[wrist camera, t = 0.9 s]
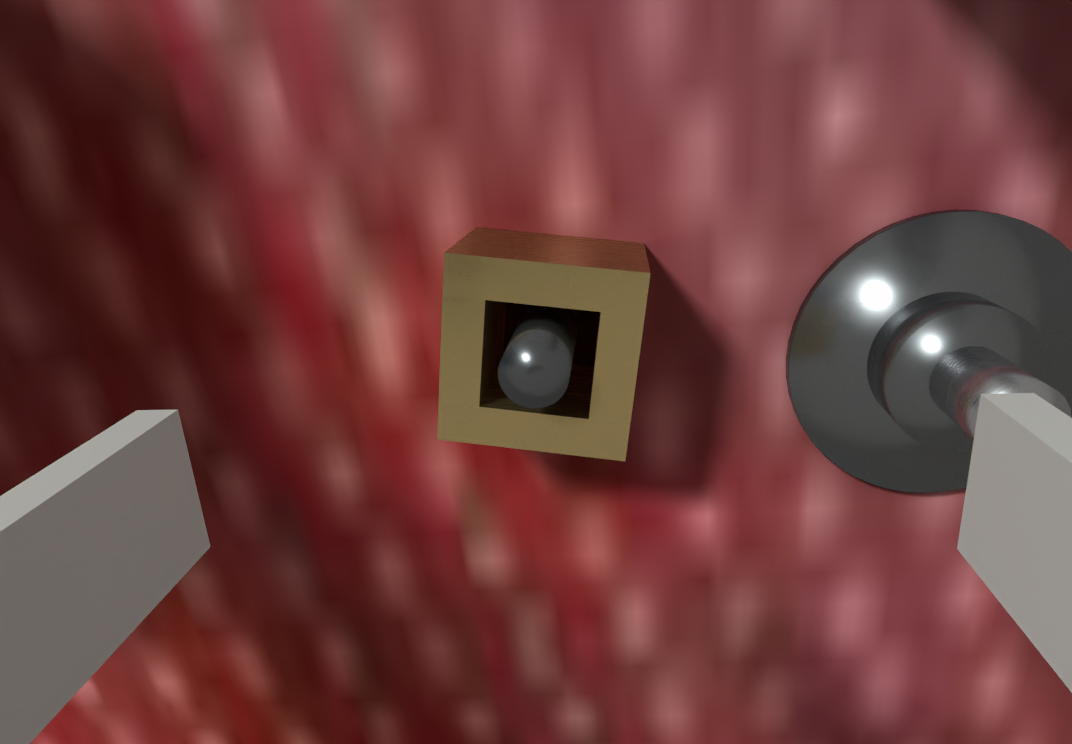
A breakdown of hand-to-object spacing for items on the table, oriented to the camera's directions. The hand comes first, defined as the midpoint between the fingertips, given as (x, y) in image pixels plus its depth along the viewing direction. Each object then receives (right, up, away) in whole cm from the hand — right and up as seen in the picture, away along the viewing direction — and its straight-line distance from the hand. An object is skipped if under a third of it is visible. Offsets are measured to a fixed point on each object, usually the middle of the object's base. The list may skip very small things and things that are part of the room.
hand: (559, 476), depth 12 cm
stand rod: (0, +4, +19) cm, 20 cm away
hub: (+16, +2, +18) cm, 24 cm away
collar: (0, +4, +19) cm, 20 cm away
